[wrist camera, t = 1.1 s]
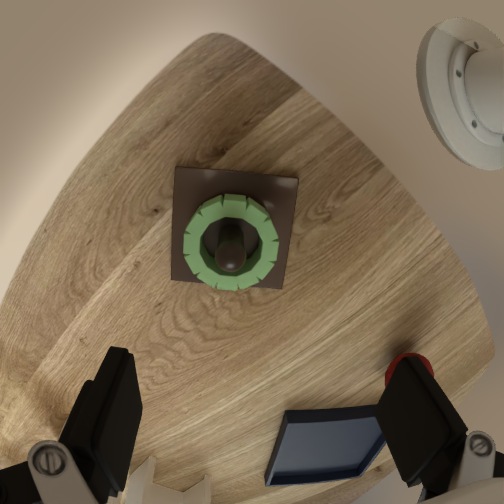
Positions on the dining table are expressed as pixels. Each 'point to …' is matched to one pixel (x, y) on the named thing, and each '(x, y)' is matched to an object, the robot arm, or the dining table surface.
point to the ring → (207, 265)
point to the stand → (232, 219)
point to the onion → (398, 358)
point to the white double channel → (160, 488)
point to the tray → (324, 446)
